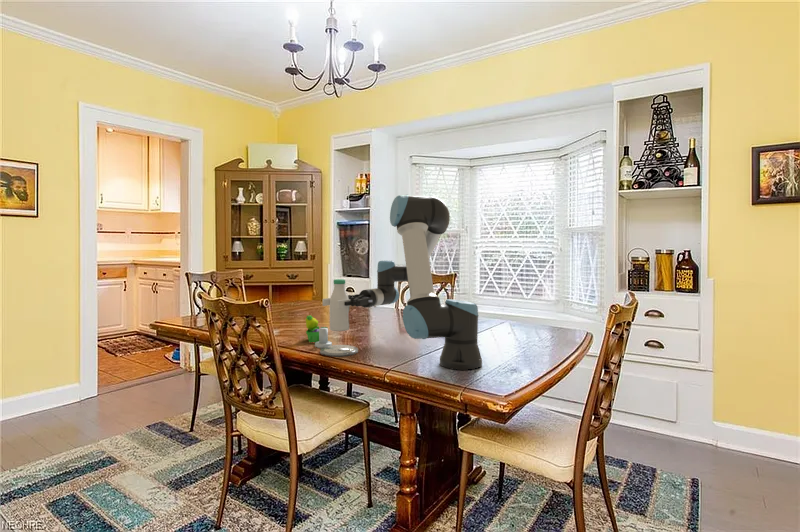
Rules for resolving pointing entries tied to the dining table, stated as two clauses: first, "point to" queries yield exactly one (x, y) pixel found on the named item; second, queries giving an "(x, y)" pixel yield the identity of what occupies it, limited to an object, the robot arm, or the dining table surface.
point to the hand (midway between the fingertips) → (330, 303)
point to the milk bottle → (339, 315)
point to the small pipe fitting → (323, 338)
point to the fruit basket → (312, 329)
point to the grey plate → (339, 350)
